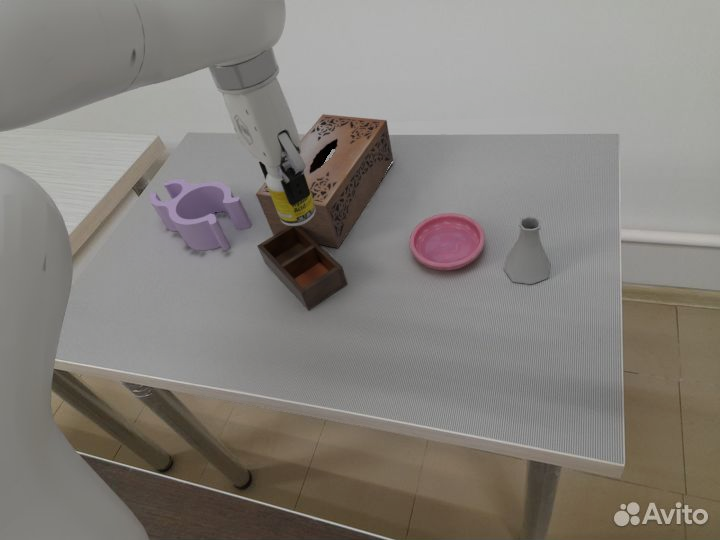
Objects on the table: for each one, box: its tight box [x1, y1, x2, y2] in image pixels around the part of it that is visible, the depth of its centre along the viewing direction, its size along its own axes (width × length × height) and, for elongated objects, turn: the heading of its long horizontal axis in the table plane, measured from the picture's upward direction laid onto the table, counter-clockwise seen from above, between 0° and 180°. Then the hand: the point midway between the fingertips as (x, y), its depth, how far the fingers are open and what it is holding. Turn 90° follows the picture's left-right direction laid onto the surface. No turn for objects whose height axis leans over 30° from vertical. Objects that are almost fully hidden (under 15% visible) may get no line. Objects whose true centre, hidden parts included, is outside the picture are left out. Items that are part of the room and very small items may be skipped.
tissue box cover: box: [255, 113, 394, 249], centre depth 101 cm, size 26×14×10 cm, turn 155°
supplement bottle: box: [265, 152, 315, 226], centre depth 72 cm, size 5×5×10 cm
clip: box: [148, 178, 252, 251], centre depth 104 cm, size 20×12×7 cm, turn 58°
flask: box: [503, 215, 551, 285], centre depth 80 cm, size 7×7×10 cm
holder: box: [256, 226, 348, 312], centre depth 91 cm, size 8×15×5 cm, turn 36°
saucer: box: [409, 212, 486, 271], centre depth 88 cm, size 12×12×3 cm
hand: (288, 188), depth 72 cm, fingers closed on supplement bottle, 5 cm apart
